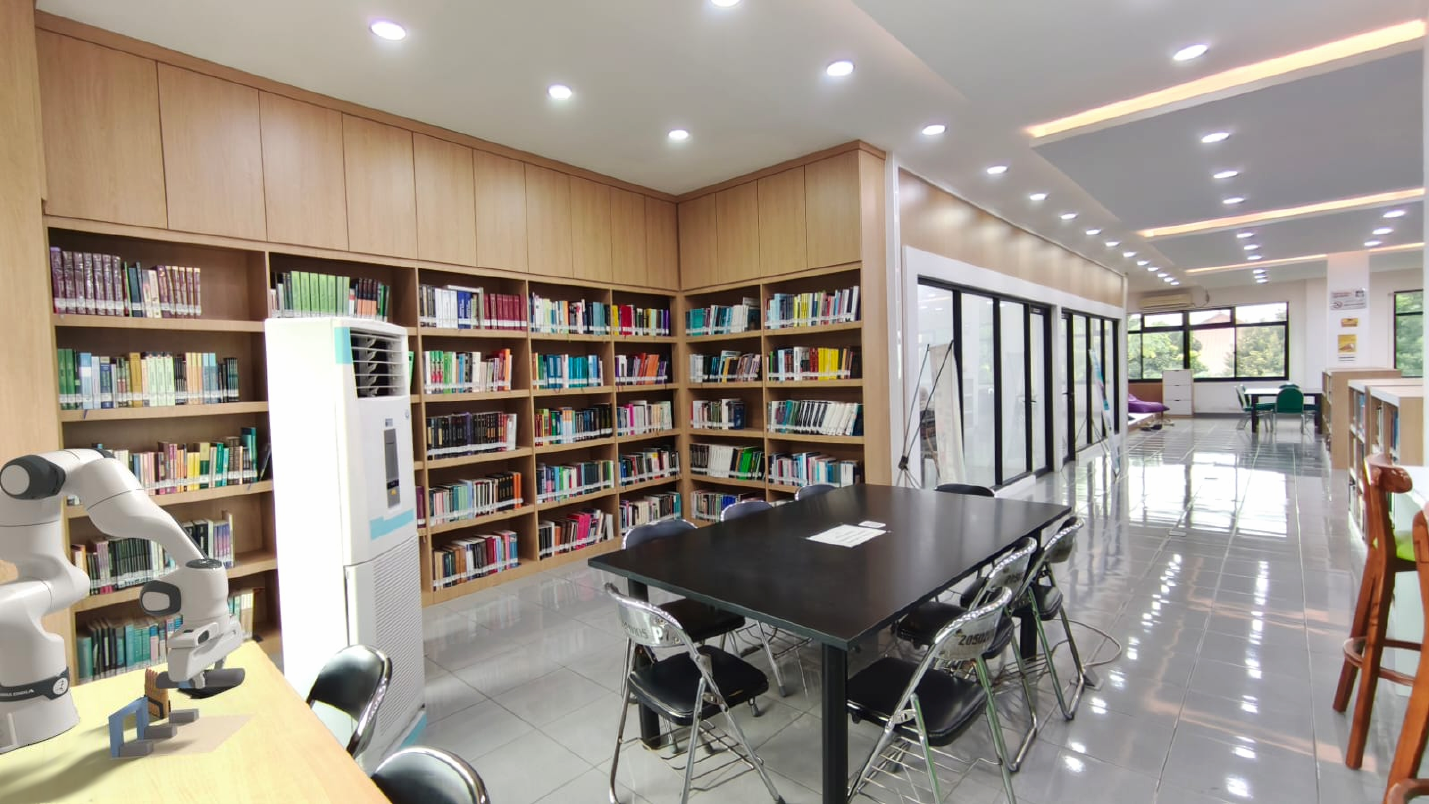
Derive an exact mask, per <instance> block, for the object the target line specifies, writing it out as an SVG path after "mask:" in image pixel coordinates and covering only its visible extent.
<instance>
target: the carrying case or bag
mask: <svg viewBox="0 0 1429 804" xmlns="http://www.w3.org/2000/svg"><path fill="white" fill-rule="evenodd" d="M236 687H238V686H220V687H203V688H199V689H197V688H178V691H179V692H183V693H185V694H187V695H190V699H193V700H200V699H201V700H202V699H208V698H211V697H215V696H217V695H219V694H223V693H224V692H227V691H229V690H232V689H234V688H236Z"/></svg>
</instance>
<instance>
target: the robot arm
mask: <svg viewBox="0 0 1429 804" xmlns="http://www.w3.org/2000/svg"><path fill="white" fill-rule="evenodd" d="M70 495H74V496H76V497H77V498H78V499H79V501H80V503H81V505H82V506H83V508H84V510H85V511H86V514H87V515H88V517H89V518H90V520H91V522H92V524H93V525H95V527H96V528H97V529H98V530H99V531H100V532H102V533H103V534H106V535H109V536H112V537H119V538H134V539H143V540H149V541H150V542H151V541H152V542H153V543H156V544H157V545H159V546H161V548H162V549H163V550H164V551H165V552H166V553H167V555H168V556H169V557H170V558H171V560H172V561H173V562H174V563H175V564H176V566H177V567H178V569H175V570H174V571H170V572H169V573H166V574H163V575H160V576H157V577H154V578H152V579H151V580H149V581H147V582H146V583H144V584H143V586H142V587H141V589H140V591H139V597H138V601H139V604H140V606H141V609H142V610H143V611H144V612H145V613H146V614H147V615H149V616H151V617H152V616H153V617H156V618H157V617H158V618H159V617H166V616H172V615H175V614H182V623H181V625H180V626H179V627H178V628H177V629H176V630H175V632H173V633H172V634H171V635H170V636H169V637H168V638H167V640H166V648H167V649H170V650H169V651H168V654H167V671H168V676H169V679H170V680H171V681H173V682H179V681H187V680H189V679H190V678H192V679H193V680H194V681H195V686H196V688H197V689H199V688H203V687H205V686H206V685H207V684H208V683H207V681H208V680H207V678H204V677H203V675H202V674H204V670H205V669H208V668H209V667H211V666H212V665H214V666H213V669H225V668H224V667H225V665H226V662H227V656H228V655H230V654H231V653H233V652H234V651H236V650H238V649H239V648H241V647H242V644H243V643H244V635H243V628H242V623H241V622H240V621H239V617H238V615H237V614H235V613H234V612H230V607H229V604H228V595H229V579H228V574H227V569H226V567H225V565H224V562H222V561H221V560H219V559H217V558H211V557H210V556H208V555H207V553H206V552H205V551H204V550H203V548H201V546H200V545H199V544H198V542H197V541H196V540H195V539H194V538H193V536H192V535H191V534H190V533H189V531H188V530H187V529H186V528H185V526H183V524H182V523H181V522H180V521H179V519H177V518H176V517H175V516H174V515H173V514H171V512H168V511H167V510H164V509H163V508H162V507H161V506H159V505H158V504H157V503H155V502H154V501H153V500H152V498H151V497H150V496H149V494H148V493H147V492H146V490H145V488H144V487H143V486H142V484H141V482H140V481H139V479H138V478H137V477H136V475H135V473H133V472H132V470H130V469H129V467H128V466H127V465H126V464H125V463H124V462H122V461H121V460H119V459H117V458H116V456H115V455H114V454H113V453H112V452H111V451H109V450H107V449H104V448H100V447H99V448H97V447H83V448H66V449H57V450H54V451H47V452H42V453H37V454H26V455H24V456H19V457H16V458H13V459H11V460H9V461H7V462H5V464H4V465H3V466H2V467H1V469H0V561H3V562H5V563H9V564H13V565H14V566H15V568H16V571H17V578H16V579H12V580H8V581H6V582H2V583H0V753H1V754H5V753H7V752H11V751H12V750H13V751H14V750H15V749H18V748H21V747H25V746H28V744H29V745H32V744H35V743H39V742H42V741H45V740H47V739H50V738H52V737H55V736H58V735H59V734H63V733H64V732H66V731H68V730H69V729H71V728H73V727H75V726H76V725H77V724H78V722H80V720H81V717H80V715H79V714H78V709H77V707H75V703H74V699H73V695H72V691H71V688H70V681H71V675H70V674H71V671H70V667H69V666H68V665H67V657H66V656H67V655H66V644H65V640H64V638H63V636H61V634H60V635H59V634H58V633H55V632H50V631H49V632H48V631H46V630H45V629H44V627H43V625H42V622H41V621H42V618H44V617H47V616H49V615H52V614H55V613H57V612H60V611H64V610H66V609H68V608H69V607H71V606H73V605H75V604H76V603H78V602H80V601H81V600H82V599H84V598H85V597H87V595H88V594H89V592H90V589H91V579H90V576H89V575H88V574H87V572H85V571H84V570H83V569H82V568H80V567H77V566H76V565H74V564H72V562H70V560H69V559H68V558H67V557H68V556H66V555H67V554H66V553H65V551H64V547H63V531H62V530H63V529H62V525H63V524H62V523H63V521H62V517H63V516H62V503H63V500H64V498H65V497H67V496H70Z"/></svg>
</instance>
